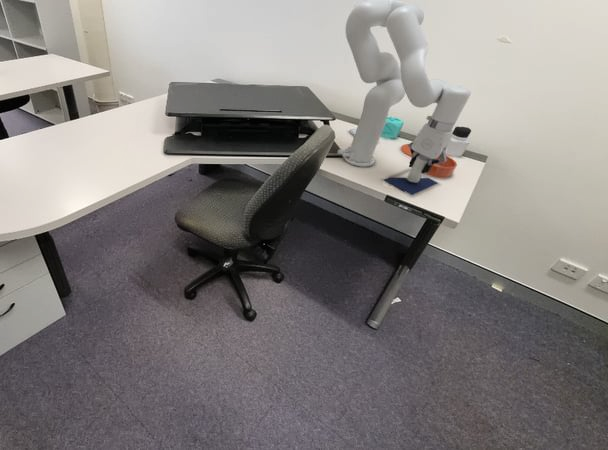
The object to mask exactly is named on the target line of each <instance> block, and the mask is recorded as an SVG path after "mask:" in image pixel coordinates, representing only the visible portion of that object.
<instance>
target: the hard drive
mask: <svg viewBox="0 0 608 450" xmlns="http://www.w3.org/2000/svg"><path fill="white" fill-rule="evenodd" d="M356 130H357V128H350V129H349V132H350V133H351V135H353V137H354V136H355V133H356Z"/></svg>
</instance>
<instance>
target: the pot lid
mask: <svg viewBox="0 0 608 450" xmlns="http://www.w3.org/2000/svg"><path fill="white" fill-rule="evenodd" d="M408 144H409V143H405V144H402V145H401V147H400V150H401V152H402V153H403V154H405V155H406V156H409V157H411V158H412V156H411V155H412V154H411V151H410V148H409V146H408Z"/></svg>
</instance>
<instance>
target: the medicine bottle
mask: <svg viewBox="0 0 608 450" xmlns="http://www.w3.org/2000/svg"><path fill="white" fill-rule="evenodd" d="M452 131H453V133H452V137H451V140H450V142H449V145H448V147H447V149H446V151H445V153H446V156H454V157H455V156H456V157H462V156H463V155H464V153H465V151H466V150H467V148H468V146H469V145H470V141H469V140H468V138H469V136H470V134H471V133H472V129H471V128H469V127H468V126H465V125H457V126H454V129H453V130H452Z"/></svg>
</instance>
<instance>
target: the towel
mask: <svg viewBox="0 0 608 450" xmlns="http://www.w3.org/2000/svg"><path fill="white" fill-rule="evenodd" d="M384 182H386V183H387V184H390V185H392V186H393V187H395V188H397V189H398V190H400V191H402V192H404V193H407V194H409V195H411V196H413V195H415V194H418V193H420V192H422V191H424V190H427V189H429V188H431V187H433V186H436V185H438V184H439V182H437V181H435V180H434V179H431V178H430V177H421V179H420V181H419V182H417V183H414V182H410V181H408V180H407V177H392V176H391V177H390V176H389V177H387V178H385V179H384Z"/></svg>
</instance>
